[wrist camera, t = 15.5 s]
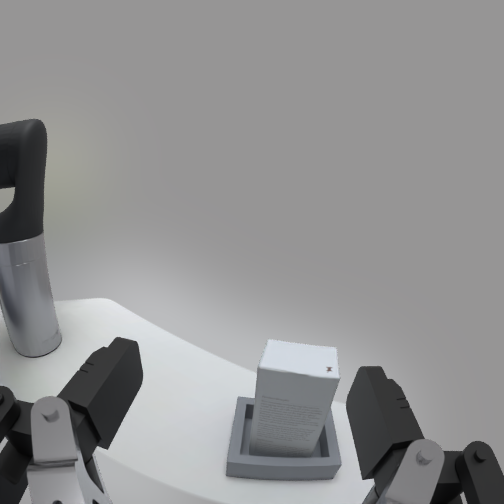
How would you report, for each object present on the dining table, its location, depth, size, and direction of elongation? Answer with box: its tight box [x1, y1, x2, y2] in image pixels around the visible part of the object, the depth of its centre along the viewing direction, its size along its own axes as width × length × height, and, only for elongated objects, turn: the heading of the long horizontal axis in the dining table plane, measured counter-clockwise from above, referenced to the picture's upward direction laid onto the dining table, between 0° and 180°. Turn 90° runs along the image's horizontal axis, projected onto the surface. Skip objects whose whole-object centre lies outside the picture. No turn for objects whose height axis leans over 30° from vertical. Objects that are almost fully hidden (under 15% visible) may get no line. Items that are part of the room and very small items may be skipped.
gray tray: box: [226, 397, 342, 480], centre depth 23 cm, size 10×9×3 cm
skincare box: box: [249, 339, 340, 458], centre depth 21 cm, size 6×4×12 cm
